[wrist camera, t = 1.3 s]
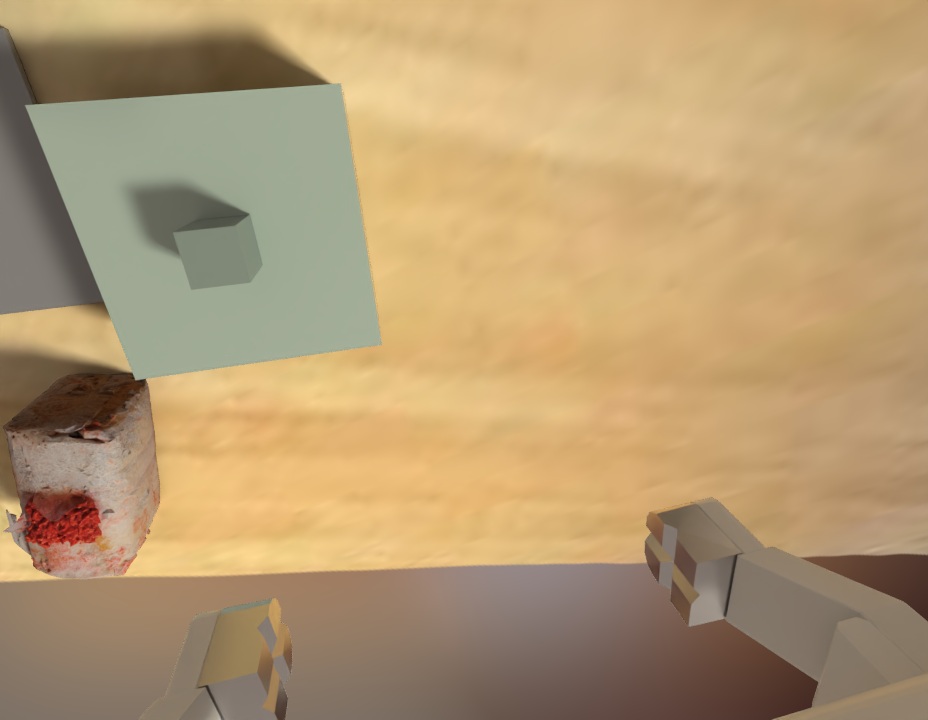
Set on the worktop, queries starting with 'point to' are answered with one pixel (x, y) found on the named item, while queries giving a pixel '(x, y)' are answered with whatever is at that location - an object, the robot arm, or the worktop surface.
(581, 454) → the worktop surface
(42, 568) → the food item
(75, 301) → the bar
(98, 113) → the cover
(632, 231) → the worktop surface
